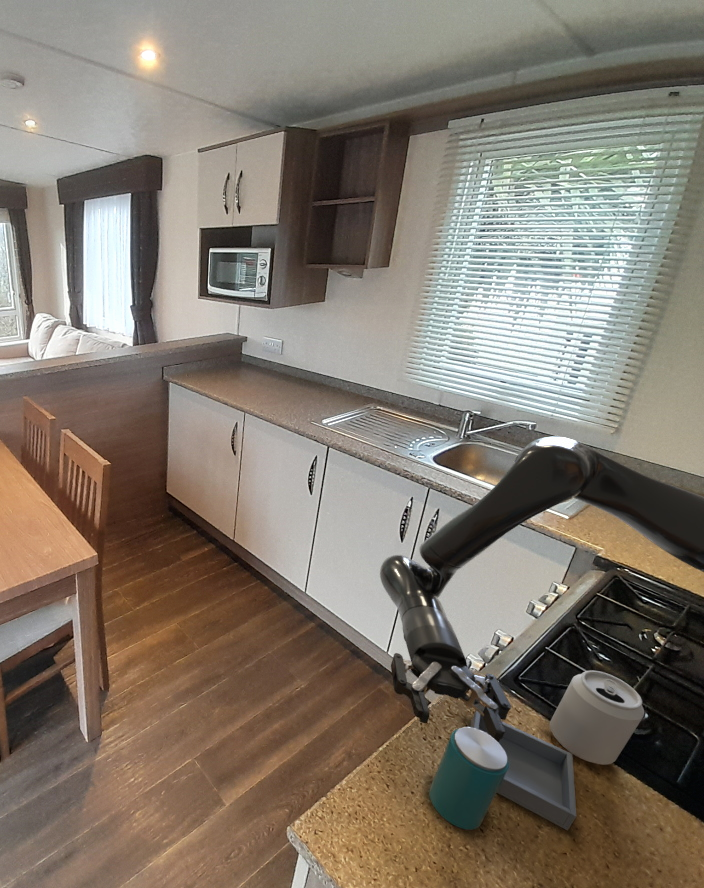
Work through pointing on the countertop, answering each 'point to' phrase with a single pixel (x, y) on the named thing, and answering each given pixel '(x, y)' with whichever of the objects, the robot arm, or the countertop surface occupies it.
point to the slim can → (468, 777)
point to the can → (597, 716)
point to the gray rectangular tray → (536, 774)
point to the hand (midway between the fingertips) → (460, 728)
